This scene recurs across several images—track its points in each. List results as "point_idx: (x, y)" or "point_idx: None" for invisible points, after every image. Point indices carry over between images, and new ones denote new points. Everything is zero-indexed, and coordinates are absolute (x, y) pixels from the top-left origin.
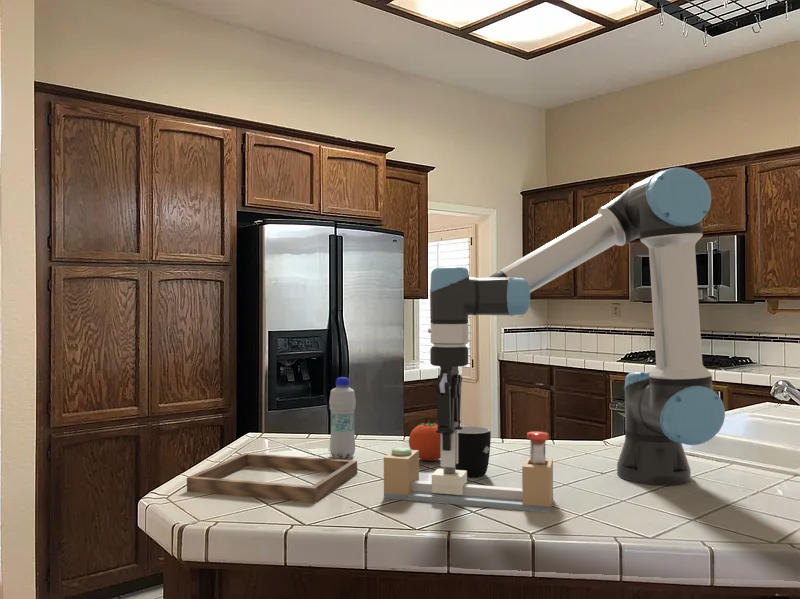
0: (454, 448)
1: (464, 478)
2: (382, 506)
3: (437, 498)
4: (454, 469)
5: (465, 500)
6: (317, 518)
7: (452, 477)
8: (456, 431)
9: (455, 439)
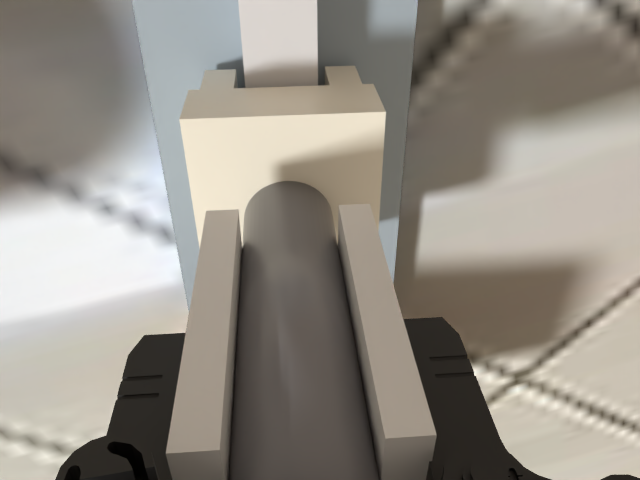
0: (377, 304)
1: (284, 101)
2: (489, 351)
3: (399, 187)
4: (304, 199)
5: (415, 26)
6: (636, 453)
7: (379, 174)
8: (219, 451)
9: (229, 376)
